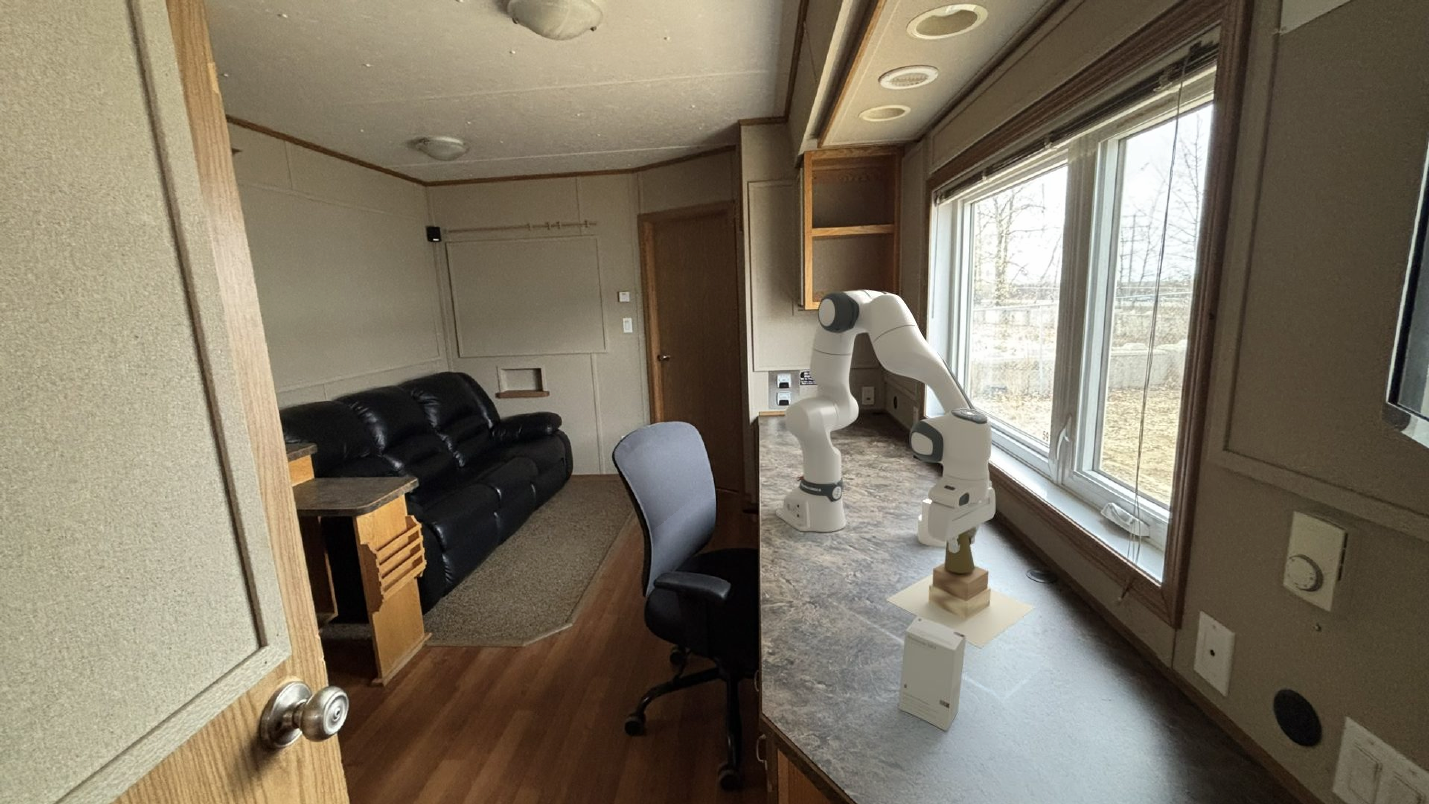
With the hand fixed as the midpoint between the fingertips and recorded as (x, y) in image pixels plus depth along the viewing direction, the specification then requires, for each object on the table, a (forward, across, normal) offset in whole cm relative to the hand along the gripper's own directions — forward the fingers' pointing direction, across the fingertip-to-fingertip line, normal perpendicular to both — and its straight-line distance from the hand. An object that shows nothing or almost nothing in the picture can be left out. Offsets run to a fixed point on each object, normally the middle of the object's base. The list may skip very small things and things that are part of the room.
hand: (961, 547), depth 119 cm
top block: (+9, 0, 0) cm, 9 cm away
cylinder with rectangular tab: (+14, -25, -22) cm, 36 cm away
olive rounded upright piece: (+5, 0, 0) cm, 5 cm away
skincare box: (+14, +32, +14) cm, 38 cm away
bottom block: (+13, 0, 0) cm, 13 cm away
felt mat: (+14, 0, 0) cm, 14 cm away
